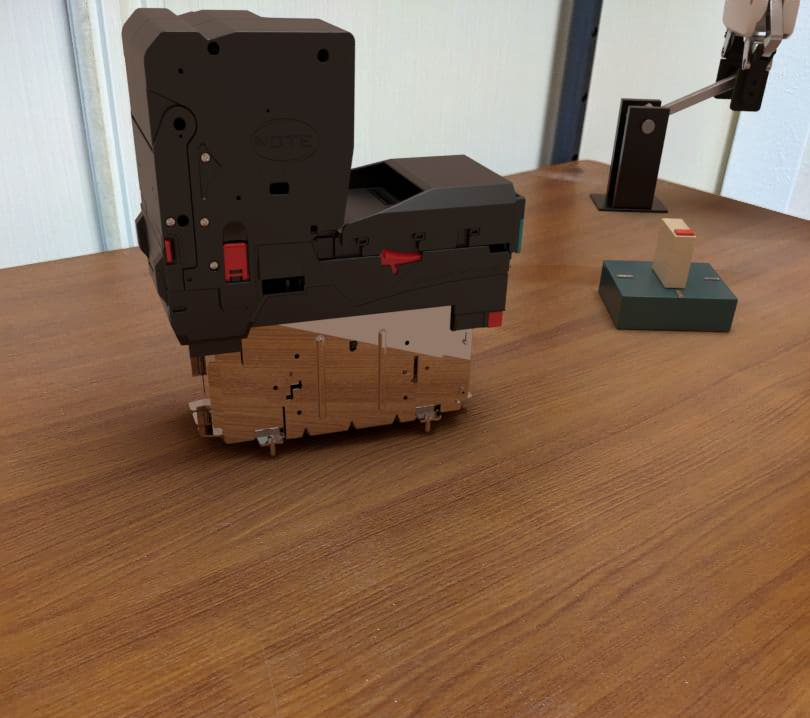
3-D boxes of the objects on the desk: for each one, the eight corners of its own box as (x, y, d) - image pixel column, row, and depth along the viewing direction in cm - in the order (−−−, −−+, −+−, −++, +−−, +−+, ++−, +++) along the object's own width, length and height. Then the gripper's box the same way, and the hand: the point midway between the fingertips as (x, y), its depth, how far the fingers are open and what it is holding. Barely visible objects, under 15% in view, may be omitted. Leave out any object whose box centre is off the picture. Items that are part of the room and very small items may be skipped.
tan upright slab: (651, 267, 84) (662, 215, 81) (671, 268, 84) (682, 215, 81) (664, 288, 80) (676, 233, 77) (685, 288, 80) (697, 234, 77)
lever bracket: (654, 205, 111) (674, 99, 104) (666, 221, 106) (688, 110, 99) (588, 203, 111) (604, 96, 104) (597, 219, 106) (614, 107, 99)
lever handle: (741, 81, 103) (737, 59, 101) (757, 91, 98) (753, 68, 97) (627, 131, 106) (622, 110, 104) (638, 142, 101) (632, 121, 100)
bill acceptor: (506, 424, 66) (551, 26, 51) (182, 474, 59) (125, 32, 44) (450, 362, 74) (475, 2, 59) (158, 400, 67) (103, 4, 52)
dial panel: (701, 293, 88) (709, 260, 86) (730, 332, 80) (739, 297, 79) (597, 290, 88) (603, 257, 86) (616, 329, 80) (623, 294, 78)
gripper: (852, -90, 84) (796, 123, 95) (787, -96, 98) (744, 90, 109) (771, -93, 84) (724, 120, 94) (717, -99, 98) (681, 88, 108)
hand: (735, 102), depth 101 cm, fingers closed on lever handle, 5 cm apart
